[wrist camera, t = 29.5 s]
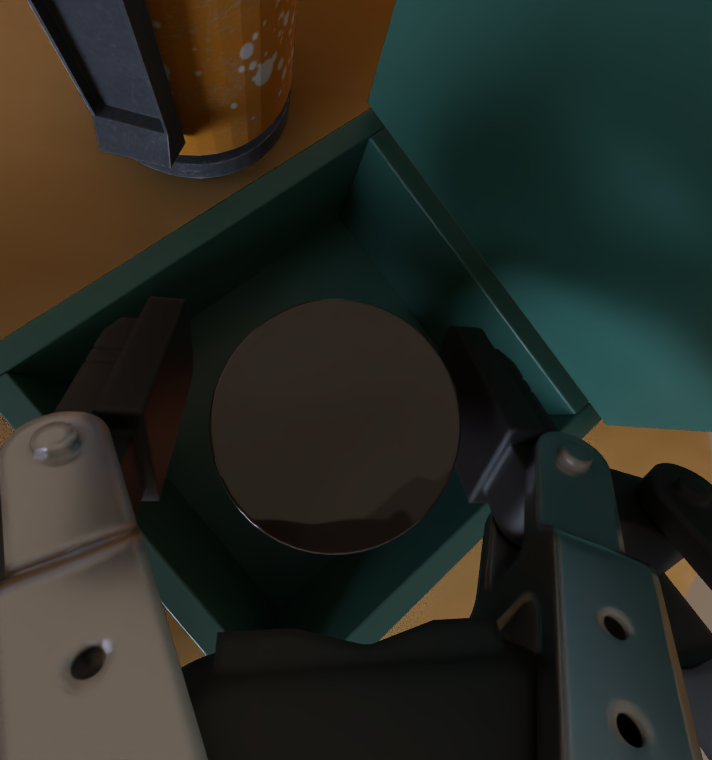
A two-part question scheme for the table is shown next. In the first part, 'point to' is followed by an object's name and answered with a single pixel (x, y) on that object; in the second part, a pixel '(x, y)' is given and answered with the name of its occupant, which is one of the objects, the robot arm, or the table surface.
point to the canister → (179, 77)
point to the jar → (334, 426)
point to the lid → (575, 177)
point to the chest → (241, 316)
